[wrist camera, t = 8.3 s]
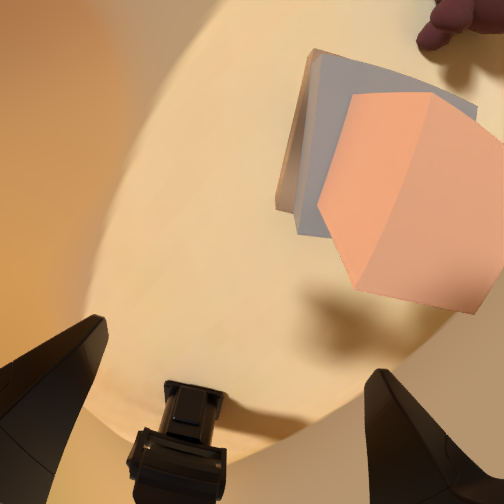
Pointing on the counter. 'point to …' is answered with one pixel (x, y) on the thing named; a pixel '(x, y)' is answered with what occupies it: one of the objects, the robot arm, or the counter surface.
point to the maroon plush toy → (461, 21)
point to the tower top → (332, 120)
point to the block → (417, 201)
